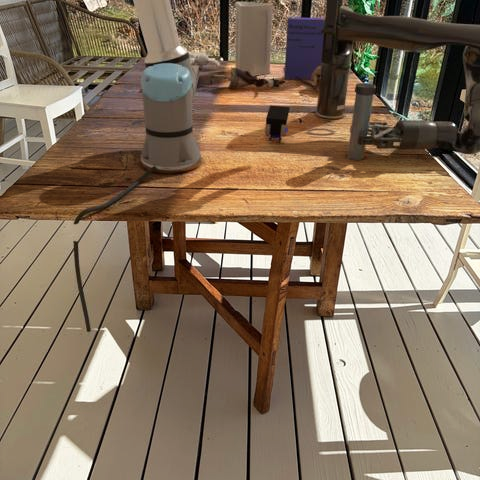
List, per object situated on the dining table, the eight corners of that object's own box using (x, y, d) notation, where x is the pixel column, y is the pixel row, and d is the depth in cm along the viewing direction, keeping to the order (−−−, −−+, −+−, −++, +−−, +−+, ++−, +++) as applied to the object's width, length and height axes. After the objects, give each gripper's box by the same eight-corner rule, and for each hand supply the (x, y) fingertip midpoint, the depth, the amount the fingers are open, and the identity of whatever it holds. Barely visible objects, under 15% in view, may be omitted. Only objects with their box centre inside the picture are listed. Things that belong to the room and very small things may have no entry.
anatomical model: (320, 94, 199) (320, 96, 185) (305, 80, 198) (304, 80, 184) (342, 71, 195) (344, 70, 181) (327, 56, 194) (328, 54, 180)
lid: (364, 95, 117) (365, 88, 116) (350, 91, 120) (351, 84, 120) (379, 93, 119) (380, 86, 118) (365, 89, 123) (366, 82, 122)
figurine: (210, 87, 179) (288, 95, 182) (212, 65, 176) (291, 73, 180) (208, 84, 201) (278, 91, 205) (210, 64, 198) (280, 71, 202)
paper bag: (273, 76, 210) (276, 6, 196) (239, 77, 209) (240, 6, 194) (266, 67, 226) (268, 2, 212) (235, 67, 225) (235, 1, 210)
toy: (175, 75, 210) (174, 58, 206) (151, 64, 228) (150, 49, 224) (222, 69, 222) (222, 53, 218) (195, 59, 239) (195, 45, 236)
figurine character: (286, 149, 136) (289, 127, 148) (287, 124, 131) (290, 104, 143) (262, 148, 137) (267, 126, 149) (263, 123, 132) (268, 103, 144)
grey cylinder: (355, 161, 126) (365, 90, 116) (343, 155, 129) (353, 86, 120) (367, 158, 128) (378, 88, 118) (355, 153, 131) (365, 84, 122)
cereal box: (323, 77, 210) (330, 17, 198) (324, 80, 206) (331, 19, 193) (284, 76, 211) (287, 16, 198) (284, 78, 207) (288, 18, 194)
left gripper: (326, -39, 123) (319, 48, 134) (316, -37, 102) (309, 66, 113) (356, -39, 121) (346, 49, 132) (352, -37, 101) (341, 68, 112)
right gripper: (421, 158, 122) (358, 158, 121) (403, 139, 134) (346, 139, 133) (427, 129, 118) (362, 129, 117) (409, 113, 130) (349, 112, 129)
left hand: (329, 57), depth 123 cm, fingers open, 13 cm apart
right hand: (353, 134), depth 125 cm, fingers open, 8 cm apart
